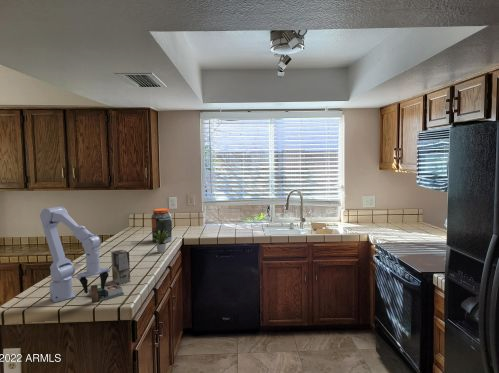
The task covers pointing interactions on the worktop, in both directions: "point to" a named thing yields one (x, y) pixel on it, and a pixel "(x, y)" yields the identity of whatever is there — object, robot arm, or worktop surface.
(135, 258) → the worktop surface
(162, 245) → the house plant
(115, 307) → the worktop surface
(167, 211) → the jar with orange lid
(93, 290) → the walnut stylus
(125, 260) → the coffee box
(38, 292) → the worktop surface
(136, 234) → the worktop surface
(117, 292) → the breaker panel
